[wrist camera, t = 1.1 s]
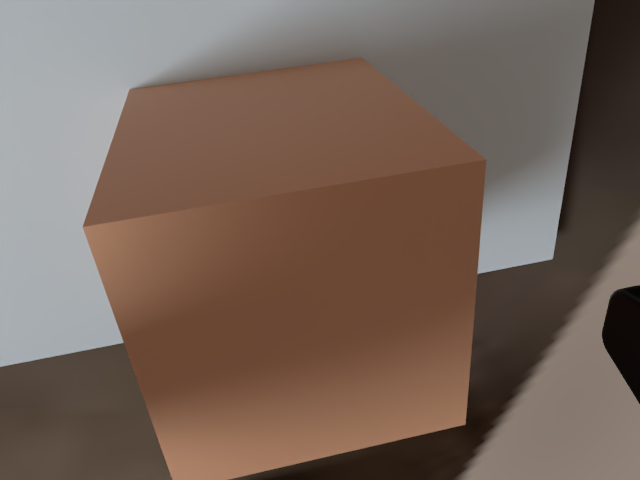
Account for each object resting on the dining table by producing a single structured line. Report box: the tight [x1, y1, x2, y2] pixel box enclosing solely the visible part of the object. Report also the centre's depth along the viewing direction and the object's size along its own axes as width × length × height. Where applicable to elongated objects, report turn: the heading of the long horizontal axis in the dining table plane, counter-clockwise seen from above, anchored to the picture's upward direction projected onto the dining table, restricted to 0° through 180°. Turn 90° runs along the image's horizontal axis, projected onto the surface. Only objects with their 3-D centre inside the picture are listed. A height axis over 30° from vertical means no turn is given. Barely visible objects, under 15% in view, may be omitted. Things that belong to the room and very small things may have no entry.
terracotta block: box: [83, 58, 486, 480], centre depth 11 cm, size 5×5×6 cm
